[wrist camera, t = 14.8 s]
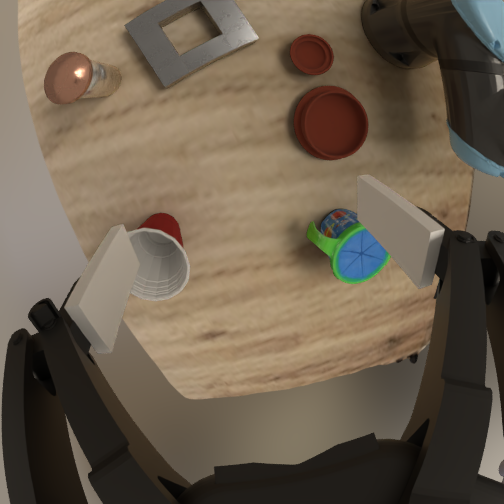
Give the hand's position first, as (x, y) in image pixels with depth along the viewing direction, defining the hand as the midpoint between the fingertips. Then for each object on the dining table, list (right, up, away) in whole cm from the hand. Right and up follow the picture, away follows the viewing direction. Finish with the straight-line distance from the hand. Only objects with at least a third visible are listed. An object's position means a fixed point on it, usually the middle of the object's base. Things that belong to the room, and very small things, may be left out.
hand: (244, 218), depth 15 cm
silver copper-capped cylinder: (-21, +23, +16) cm, 35 cm away
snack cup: (+16, +3, +34) cm, 38 cm away
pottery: (+10, +22, +22) cm, 33 cm away
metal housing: (-8, +29, +14) cm, 33 cm away
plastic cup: (-14, +2, +30) cm, 33 cm away
